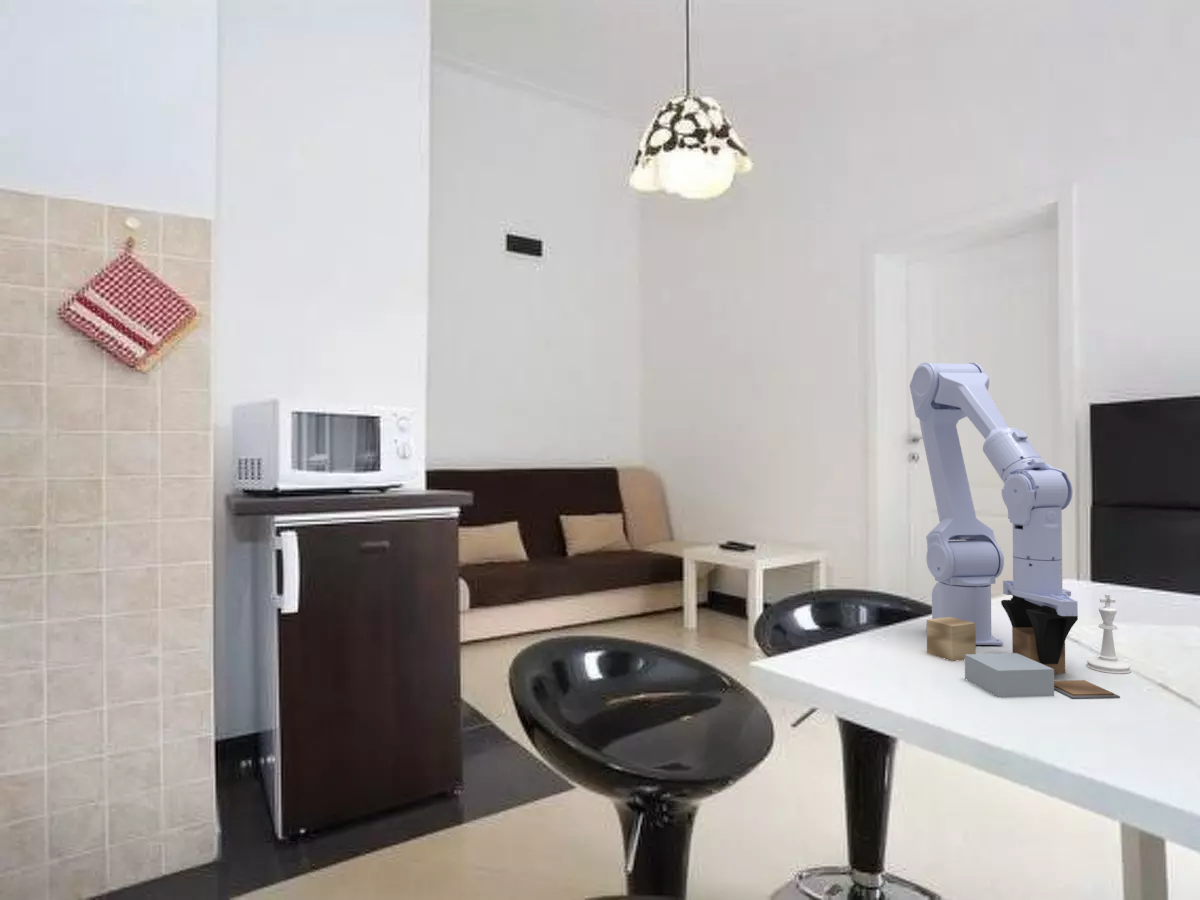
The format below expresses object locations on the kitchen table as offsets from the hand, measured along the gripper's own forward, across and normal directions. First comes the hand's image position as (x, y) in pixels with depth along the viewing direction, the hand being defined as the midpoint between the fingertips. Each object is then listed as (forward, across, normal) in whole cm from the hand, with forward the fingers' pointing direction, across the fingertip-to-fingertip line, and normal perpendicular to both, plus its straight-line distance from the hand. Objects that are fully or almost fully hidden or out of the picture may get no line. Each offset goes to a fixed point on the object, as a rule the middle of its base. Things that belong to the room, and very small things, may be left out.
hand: (1038, 657), depth 97 cm
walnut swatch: (+1, -9, 0) cm, 9 cm away
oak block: (+2, +6, +9) cm, 11 cm away
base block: (+2, -8, +8) cm, 11 cm away
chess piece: (+2, 0, -9) cm, 10 cm away
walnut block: (+1, 0, 0) cm, 1 cm away
